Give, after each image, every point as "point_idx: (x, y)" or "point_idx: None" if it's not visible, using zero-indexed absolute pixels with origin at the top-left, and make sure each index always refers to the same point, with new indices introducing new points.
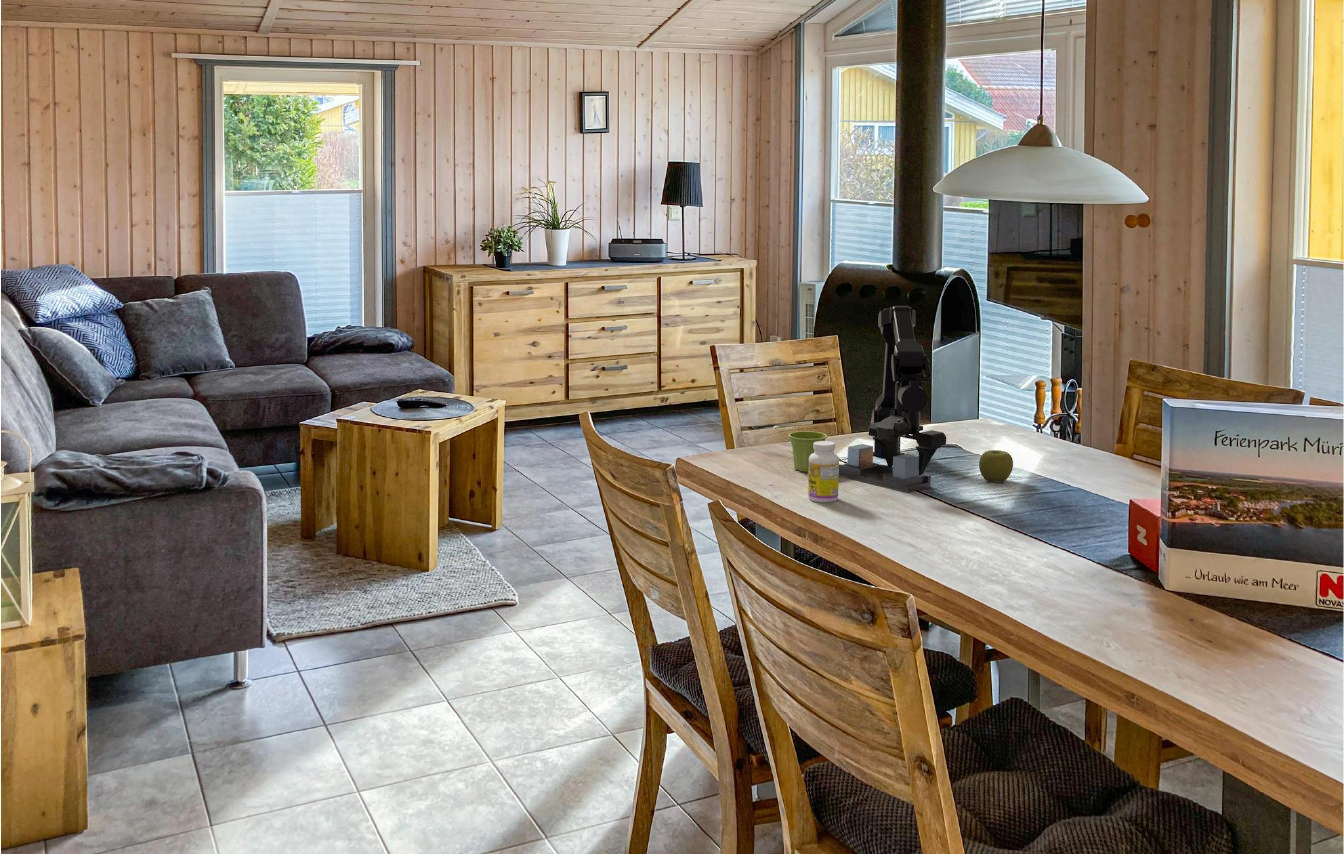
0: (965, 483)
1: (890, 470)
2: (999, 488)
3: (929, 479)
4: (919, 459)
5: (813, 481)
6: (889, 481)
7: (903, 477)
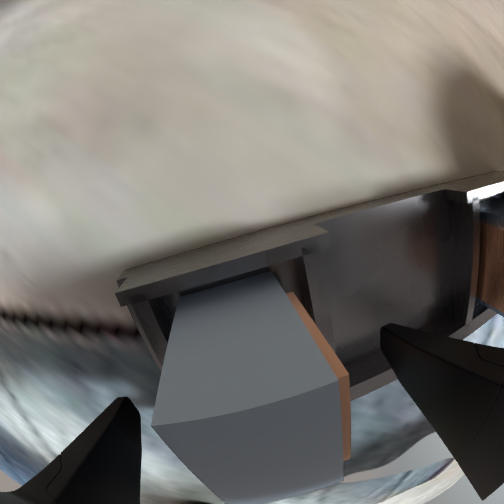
0: None
1: None
2: None
3: None
4: (72, 466)
5: None
6: (260, 241)
7: (182, 316)
